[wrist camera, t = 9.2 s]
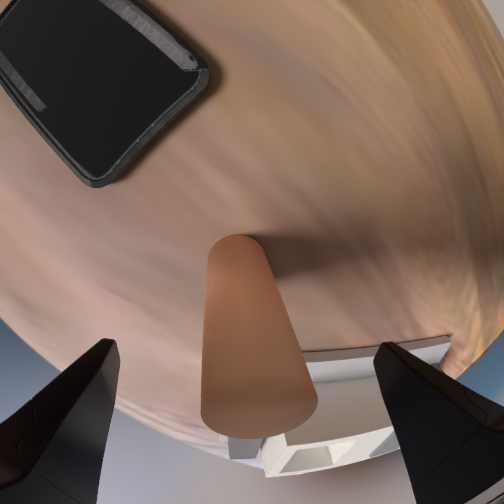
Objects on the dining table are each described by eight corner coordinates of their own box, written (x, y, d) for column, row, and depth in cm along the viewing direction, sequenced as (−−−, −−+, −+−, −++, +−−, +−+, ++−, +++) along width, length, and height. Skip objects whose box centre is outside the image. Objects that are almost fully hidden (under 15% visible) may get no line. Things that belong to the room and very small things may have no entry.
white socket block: (412, 370, 20) (440, 412, 15) (383, 410, 22) (403, 449, 17) (272, 384, 17) (288, 450, 13) (256, 426, 20) (266, 480, 15)
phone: (61, -49, 4) (221, 75, 10) (68, -42, 5) (220, 80, 11) (-25, 50, 6) (96, 200, 11) (-15, 51, 7) (104, 194, 12)
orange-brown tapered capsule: (269, 236, 14) (332, 371, 6) (262, 288, 15) (303, 434, 7) (208, 233, 14) (198, 376, 5) (207, 286, 15) (202, 439, 7)
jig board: (446, 335, 20) (469, 362, 17) (398, 408, 25) (412, 433, 21) (226, 353, 17) (231, 402, 13) (219, 432, 21) (221, 469, 18)
